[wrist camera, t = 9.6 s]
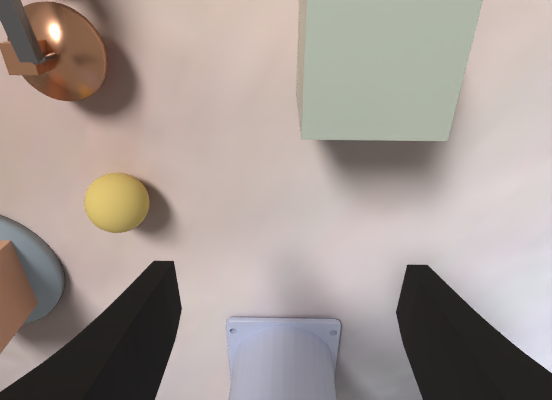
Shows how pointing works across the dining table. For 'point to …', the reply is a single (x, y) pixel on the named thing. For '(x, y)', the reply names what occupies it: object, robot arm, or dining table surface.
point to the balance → (53, 49)
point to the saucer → (36, 266)
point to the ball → (116, 202)
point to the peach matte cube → (13, 294)
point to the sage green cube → (382, 67)
